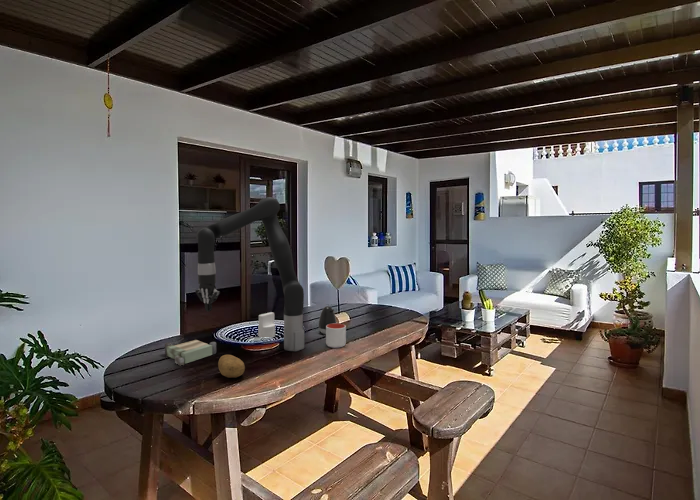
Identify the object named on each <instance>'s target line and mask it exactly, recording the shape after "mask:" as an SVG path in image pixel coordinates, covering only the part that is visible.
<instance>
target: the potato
mask: <svg viewBox="0 0 700 500" xmlns="http://www.w3.org/2000/svg"><path fill="white" fill-rule="evenodd" d="M217 366H218V367H217V368H218V370H219V373H220V374H221V375H222V376H224V377H225V378H228V379H229V378H234V379H235V378H236V379H237V378H239V377H240V376H242V375H243V374H244V372H245V369H246V366H245V363H244V361H243V360H241V359H240V358H238V357H236V356H234V355H232V354H224V355H222V356H220V358H219V360H218V362H217Z"/></svg>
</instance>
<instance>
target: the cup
mask: <svg viewBox="0 0 700 500" xmlns="http://www.w3.org/2000/svg"><path fill="white" fill-rule="evenodd" d="M346 340H347V325H345V324H343V323H337V322H336V323H333V324H328V325H326V334H325V344H326V346H327V347H329V348H333V349H334V348H335V349H337V348H338V349H339V348H342V347H344V346H345V345H346V342H347V341H346Z"/></svg>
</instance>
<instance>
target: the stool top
mask: <svg viewBox="0 0 700 500" xmlns="http://www.w3.org/2000/svg"><path fill="white" fill-rule="evenodd" d="M205 345H208V343H206V342H203V341H200V340H198V339H194V340H190V341H185V342H182V343H178V344H174V345H173V344H172V342H165V343H164V355H165V356H166V357H169V358H171V359H174V364H175V363H176V365H177V364H178V366H180V367H182V366H181V365H183V366H185V363H184V358H182V357H181V353H182V352H185V351H188V350H192V349H195V348H198V347H201V346H205Z"/></svg>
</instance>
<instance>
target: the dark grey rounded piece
mask: <svg viewBox="0 0 700 500" xmlns="http://www.w3.org/2000/svg"><path fill="white" fill-rule="evenodd" d="M333 323H337V319H336V314H335V310H334V308H332V306H329V305H327V306H324V307H323V308H322V309H321V312H320V315H319V319H318V329H319V331H320V332H321V334H324V335H326V325H328V324H333Z"/></svg>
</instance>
